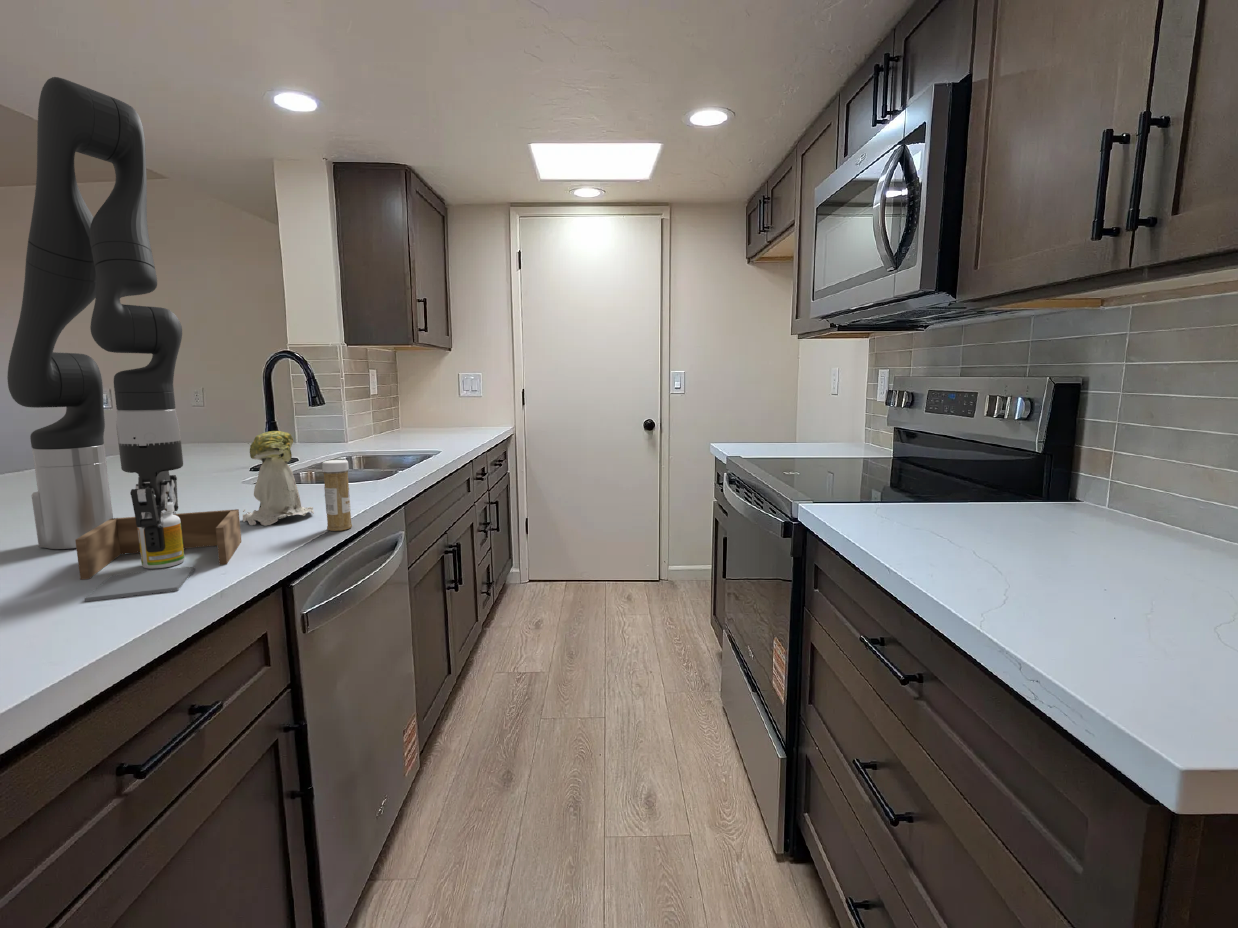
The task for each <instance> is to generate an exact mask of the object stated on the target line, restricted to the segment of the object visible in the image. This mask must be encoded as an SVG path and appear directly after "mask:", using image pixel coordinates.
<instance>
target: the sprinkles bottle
mask: <svg viewBox="0 0 1238 928" xmlns="http://www.w3.org/2000/svg"><path fill="white" fill-rule="evenodd" d="M321 465H322V466H321V467H322V468H321V469H322V472H323V482H324V483H323V484H324V500H325V502H324V503H325V512H326V521H327V526H326V529H327V530H328V531H330V532H331V531H332V532H342V531H346V530H348V529H349V530H350V529H351V528H352V527H353V524H352V515H351V514H352V513H351V498H350V497H351V496H350V486H349V484H350V483H349V461H348V460H347V459H345V460H344V459H332V460H331V459H330V460H326V461H323V462H322V463H321Z"/></svg>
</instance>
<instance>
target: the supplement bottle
mask: <svg viewBox="0 0 1238 928" xmlns="http://www.w3.org/2000/svg"><path fill="white" fill-rule="evenodd" d="M158 506H159V505H158ZM172 512H174V505H173V502H167V511H166V512H164V513H163V522H164V524H163V529H164V539H165V549H164V550H163V551H160V552H147V550H146V543H145V534H144V529H145V528H144V529H142V528H141V527H137V528H138V537H139V545H140V553H139V554H140V561H141V566H142V567H143V568H144V569H153V570H154V569H155V570H157V569H165V568H166V569H167V568H170V567H174V566H177V565H180V564H181V563H184V562H185V560H186V559H185V550H184V549H185V548H183V539H182V530H181V521H180V518H179V517H178V516H176V515H173V513H172ZM147 518H152V515H151V513H149V514H148V515H147Z"/></svg>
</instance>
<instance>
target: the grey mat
mask: <svg viewBox="0 0 1238 928" xmlns="http://www.w3.org/2000/svg"><path fill="white" fill-rule="evenodd" d="M195 567H196V566H194V565H193V566H183V567H175V568H166V569H165V568H162V569H155V570H154V569H153V570H145V571H134V572H127V573H119V574H118V573H115V574H111V575H110V576H109V577H108V578H107V579H106V580H104V581H103V582H102V583H101V584H100V585H98V586H97V587H96V588H95V589H94V590H92V591H91V592H90V593H89V594H87V596H85V597H84V602H93V601H101V600H111V599H118V598H119V599H120V598H125V597H126V598H129V597H134V596H133V595H137V596H144V595H151V594H152V593H153V594H161V593H160V592H163V593H170V592H169V591H171V592H176V591H177V590H178V591H179V590H180V589H181V587H182V586H183V585H184V583H186V582H187V580H188V579H187V578H189V577H190V576H191V575H192V574H193V573H194V572H195V570H196V568H195ZM179 588H180V589H179ZM178 591H177V592H178Z"/></svg>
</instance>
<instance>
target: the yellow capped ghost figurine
mask: <svg viewBox="0 0 1238 928" xmlns="http://www.w3.org/2000/svg"><path fill="white" fill-rule="evenodd" d="M293 443H294V438H293V436H292V433H290V432H286V431H282V430H281V431H280V430H271V431H265V432H263V433H260V434H258V435H256V436H255V437H254V439H253V442H252V443H251V444H250V443H249V442H248V443H247V444H248V445H249V446H250V447H249V457H250V459H252V460H259V461H261V463H262V464H261V465H260V468H259V471H258V475H257V479H256V481H255V485H254V489H253V497H254V498H255V500H257V502H260V503H259V507H258V510H256V509H255V510H253V511H252V512H250V511H247V513H244V512H246V509H243V510H242V513H244V514H242V522H243V523H244V522H248V524H249V525H250V526H253V525H254V526H255V525H257V522H259V523H260V525H262V526H265V527H266V526H271V525H273V524H274V523H276V522H278V521H279V520H281V519H284V518H287V516H288V517H289V516H295V515H300V516H301V517H304V516H306V515H307V514H308V513H311V514H312V515H313V514H314V513H315V512H314V506H313V507H312V506H308V507H305V506H302V502H301V497H300V494H299V489H298V486H297V482H296V480H295V476H294V471H293V470H292V468H291V467H290V465H289V464H288V463H290V461H291V460H292V456H293V454H292V450H291V448H292V447H293V445H294V444H293ZM256 521H257V522H256Z"/></svg>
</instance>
